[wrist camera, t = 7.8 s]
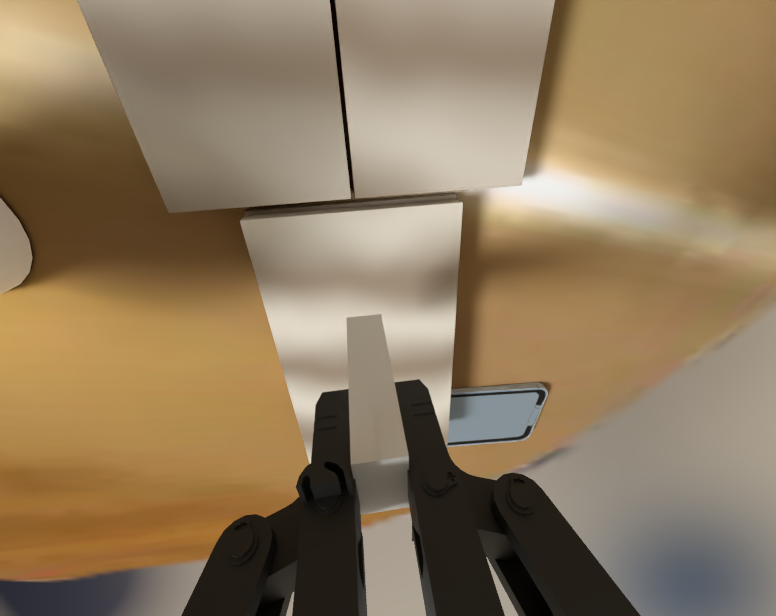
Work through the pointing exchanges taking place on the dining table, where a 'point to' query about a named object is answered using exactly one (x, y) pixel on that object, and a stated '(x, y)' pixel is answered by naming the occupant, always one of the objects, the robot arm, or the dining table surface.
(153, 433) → the dining table surface
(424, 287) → the silvery beige flat slab
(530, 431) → the smartphone
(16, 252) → the cup
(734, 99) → the dining table surface
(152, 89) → the laid floor
